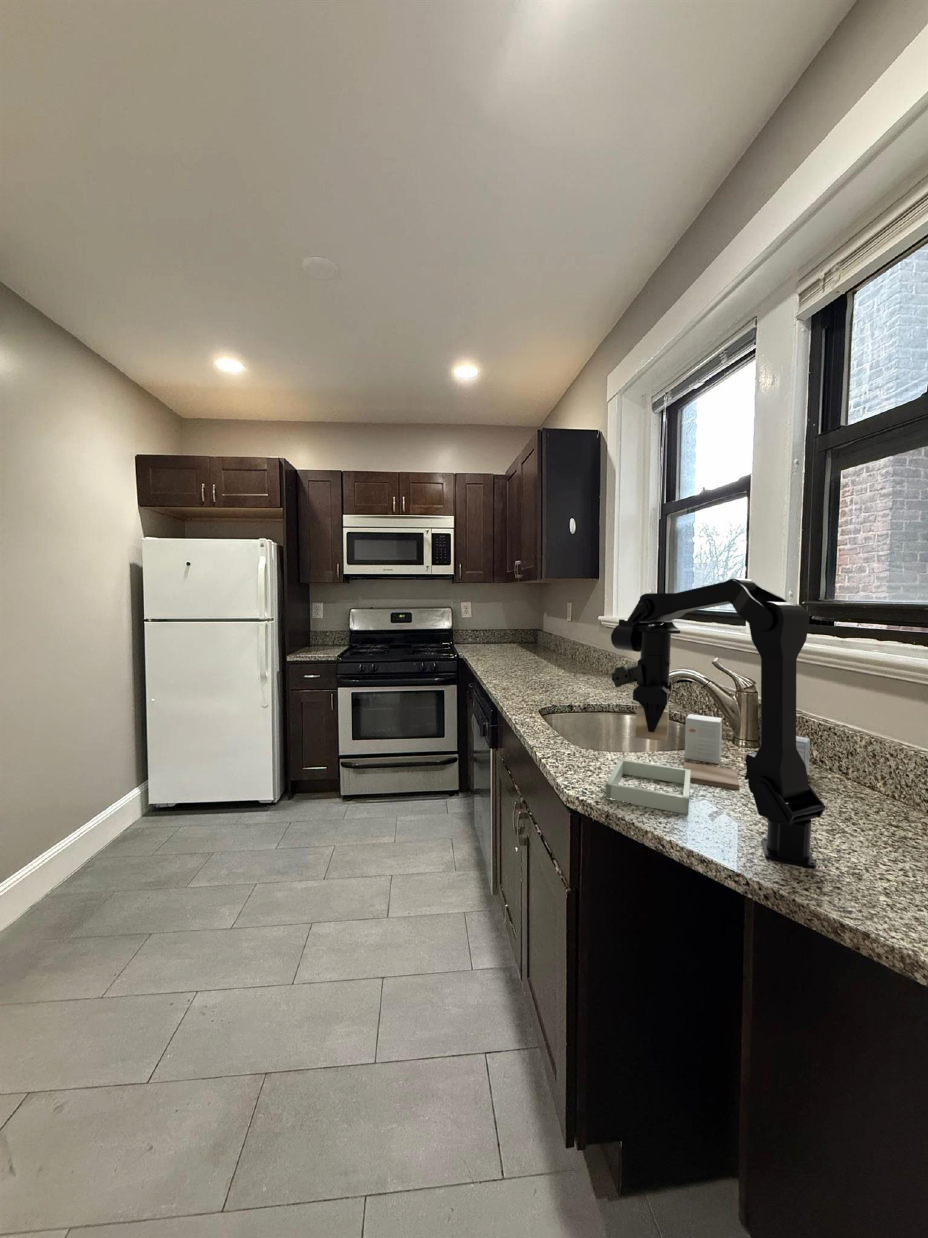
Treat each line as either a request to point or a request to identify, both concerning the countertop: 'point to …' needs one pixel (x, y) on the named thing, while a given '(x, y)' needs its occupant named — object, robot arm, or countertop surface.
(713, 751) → the small box
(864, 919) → the countertop surface
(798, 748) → the medicine box
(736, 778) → the walnut board
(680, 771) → the sage bin
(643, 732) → the pine block
